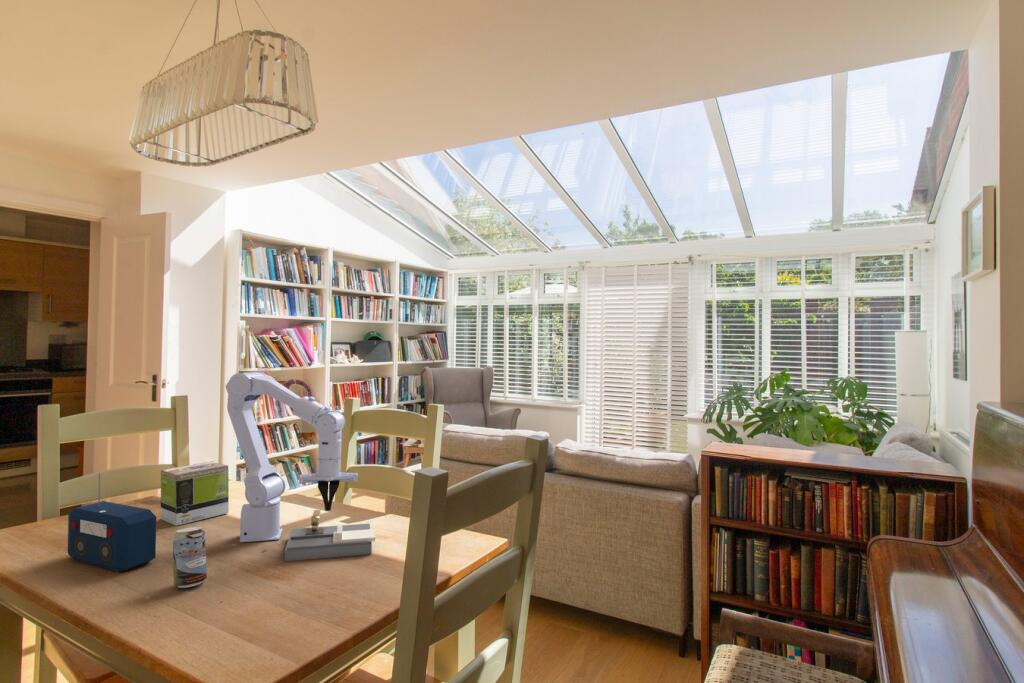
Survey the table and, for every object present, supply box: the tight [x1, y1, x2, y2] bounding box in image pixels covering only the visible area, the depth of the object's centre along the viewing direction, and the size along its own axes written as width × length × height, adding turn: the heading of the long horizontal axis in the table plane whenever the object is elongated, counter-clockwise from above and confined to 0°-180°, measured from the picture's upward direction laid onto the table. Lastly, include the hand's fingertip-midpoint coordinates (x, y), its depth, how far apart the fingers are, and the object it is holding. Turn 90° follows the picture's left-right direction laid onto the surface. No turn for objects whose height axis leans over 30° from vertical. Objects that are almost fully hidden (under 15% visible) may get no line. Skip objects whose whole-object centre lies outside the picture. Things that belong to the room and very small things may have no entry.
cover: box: [333, 524, 376, 544], centre depth 141 cm, size 10×6×3 cm, turn 106°
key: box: [310, 509, 321, 531], centre depth 149 cm, size 7×2×4 cm, turn 14°
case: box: [284, 523, 373, 562], centre depth 143 cm, size 20×16×3 cm
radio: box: [67, 473, 157, 573], centre depth 131 cm, size 21×9×20 cm, turn 68°
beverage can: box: [172, 525, 208, 589], centre depth 119 cm, size 6×7×12 cm
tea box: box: [160, 460, 230, 527], centre depth 164 cm, size 15×10×15 cm
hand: (328, 509), depth 146 cm, fingers closed
